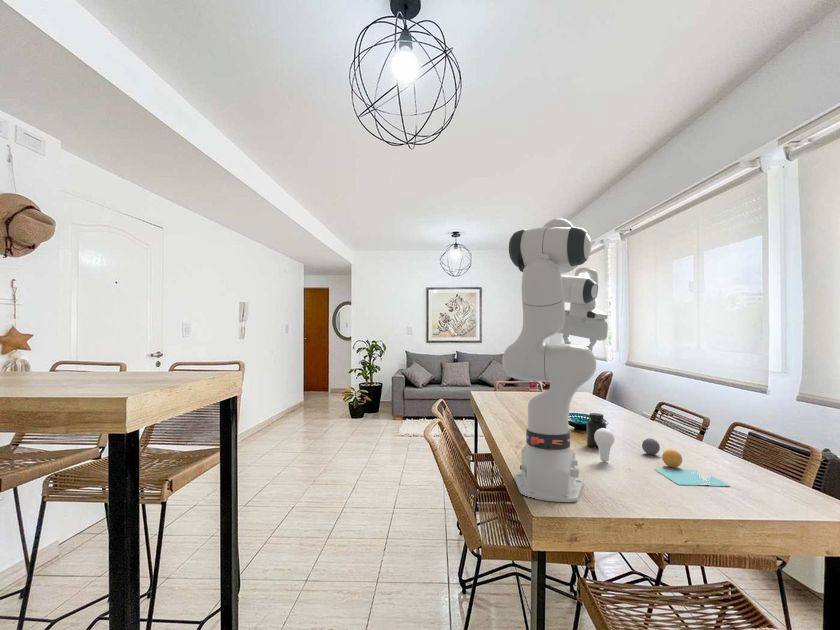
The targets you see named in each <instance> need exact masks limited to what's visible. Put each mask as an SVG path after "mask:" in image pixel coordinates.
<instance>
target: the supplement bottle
mask: <svg viewBox="0 0 840 630" xmlns="http://www.w3.org/2000/svg"><path fill="white" fill-rule="evenodd" d="M588 418H589V419H588V421H587V422H586V444H587V446H588V447H589V448H592V449H598V445H597V443H596V441H595V439H594V434H595V432H596V431H597V430H598V429H601V428H606V429H607V424H606V422H605V421H604V420H605V418H604V414H603V413H599V412H597V413H596V412H591V413H589V417H588Z"/></svg>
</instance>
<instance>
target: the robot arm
mask: <svg viewBox="0 0 840 630" xmlns="http://www.w3.org/2000/svg"><path fill="white" fill-rule="evenodd" d="M591 250H592V241H591V238H590V234H589V233H588V231H587V230H586V229H585V228H583V227H578V226H573V224H572V223H571V222H570V221H569V220H567V219H565V218H561V217H560V218H554V219H550V220H549V221H547V222H546V223H545V224H544V225H543V226H542V227H536V228H531V229H527V228H526V229H521V230H520V229H519V230H517V231H515V232H513V234H512V235H511V236H510V239H509V242H508V254H509V258H510V261H511V262H512V263H513V265H514V266H516V267H517V268H518V270H519V271H520V272H521V273H522V277H521V303H522V327H521V332H520V334H519V336H518V337H517V338H516V339H515V341H514V342H513V343H512V344H510V345H508V347H507V348H506V349H505V350H504V352H503V355H502V360H501V365H502V368H503V371H504V372H505V374H506V375H507V376H508V377H509V378H513V379H516V380H519V381H520V380H521V381H523V382H524V381H525V382H528V381H529V382H531V381H532V382H547V383H549V389H547V390H546V391H544V392H541V393H539V394H538V395H535V396H534V397H532V398H531V399H529V402H528V404H527V428H526V433H525V439H526V444H525V445H524V446H523V447H522V448H521V453H520V454H521V455H520V458H521V459H520V460H521V462H520V463H521V464H520V466H519V468H520V472H515V473H514V476H513V479H514V481H515V484H516V486H517V489H518V491H519V494H520V493H521V494H523V495H526V496H528V497H527V498H529V497H532V498H531V499H533V498H535V499H534V500H538V501H547V502H554V503H555V502H557V503H575V502H578V501H579V498H580V496H581V494H582V491H583V487H584V485H585V484H584V480H583V479H581V478H579V474H580V473H579V468H577V466H578V460H576V452H575V451H574V450H572V449H571V433H570V431H569V417H570V415H569V414H570V405H571V402H572V398H573V397H574V396H575V394H576V392H577V391H578V389H579V388H581V387H582V386H583V385H584V384H585V383H587V382H588V381H589V380H591V379H592V378H593V376H594V375H595V372H596V369H597V360H596V357H595V354H594V352H593V347H594V346H595V344H597V341H606V339H607V338H608V322H607V319H608V317H609V316H608V313H605V312H604V311H602V310H600V309H598V308H597V307H596V305H597V304H596V299H597V297H598V291H599V285H598V284H599V275H598V271H597V270H596V269H593V268H591V267H579V268H577V267H578V266H582V265H584V264H585V263H587V261H588V259H589V258H590V257H589V256H590V254H591ZM574 269H576V270H575V272H574V275H564V274H565V273H570V272H571V271H573V270H574ZM562 274H563V275H562ZM565 303H569V309H565V308H566V307H565ZM557 333H558V334H562V339H563V341H564V343H547V342H545V340H546V339H548V338H550V337H552V336H554V335H556V334H557ZM570 336H573V337H578V338H579V337H580V338H584V339H589V342H590V343H589V345H586V346H583V345H578V344H574V343H571V341H569V337H570ZM521 494H520V495H521Z"/></svg>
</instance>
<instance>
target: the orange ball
mask: <svg viewBox="0 0 840 630" xmlns="http://www.w3.org/2000/svg"><path fill="white" fill-rule="evenodd" d="M661 457H662V458H661V459H662V462H663V463H664V464H665V466H668V467H670V468H678V467H679V466H681V464H682V463H683V457H682V455H681V453H680V452H679V451H678V450H675V449H674V448H673V449H671V448H669V449H666V450H664V451H663V453H662V456H661Z"/></svg>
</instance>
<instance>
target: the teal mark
mask: <svg viewBox="0 0 840 630" xmlns="http://www.w3.org/2000/svg"><path fill="white" fill-rule="evenodd" d="M653 470H654V471H656V472H657V471H658V472H657V473H658V474H660V473H661V474H660V475H662V476H663V475H664V476H663V477H665V476H666V477H667V478H666V477H665V478H666V479H668V478H669V479H668V480H669V481H671V480H672V481H671V482H672V483H674V482H675V483H674V484H676V485H677V484H678V486H690V485H700V484H701V485H702V484H703V483H707V482H708V483H707V485H708V484H710V485H711V486H710V487H720V486H731V485H729V484H727V483H726V482H724V481H722V480H721V479H719V478H716V477H714V476H713V475H711V478H710V477H709V478H710V479H709V478H707V481H705V480H704V481H703V479H702V478H699V474H698V473H697V470H698V469H675V468H674V469H671V468H653ZM692 470H693V471H692ZM695 470H696V471H695ZM694 471H695V473H694V474H693V472H694ZM691 472H692V474H691ZM697 474H698V475H697ZM701 475H702V474H701ZM701 475H700V477H701ZM708 479H709V481H708ZM709 482H710V483H709ZM703 485H704V484H703ZM705 485H706V484H705Z"/></svg>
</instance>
